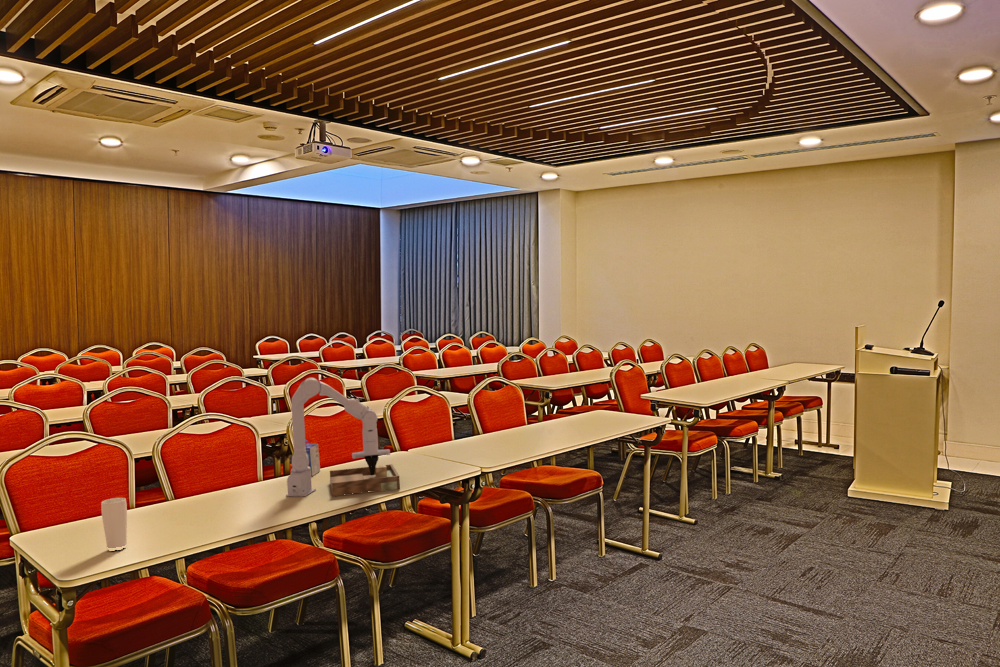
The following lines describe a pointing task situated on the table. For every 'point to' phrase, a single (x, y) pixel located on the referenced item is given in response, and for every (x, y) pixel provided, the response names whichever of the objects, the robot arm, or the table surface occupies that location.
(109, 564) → the table surface
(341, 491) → the box
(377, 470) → the block
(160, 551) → the table surface
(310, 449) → the ink cartridge box
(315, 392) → the robot arm
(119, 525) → the drinking glass
